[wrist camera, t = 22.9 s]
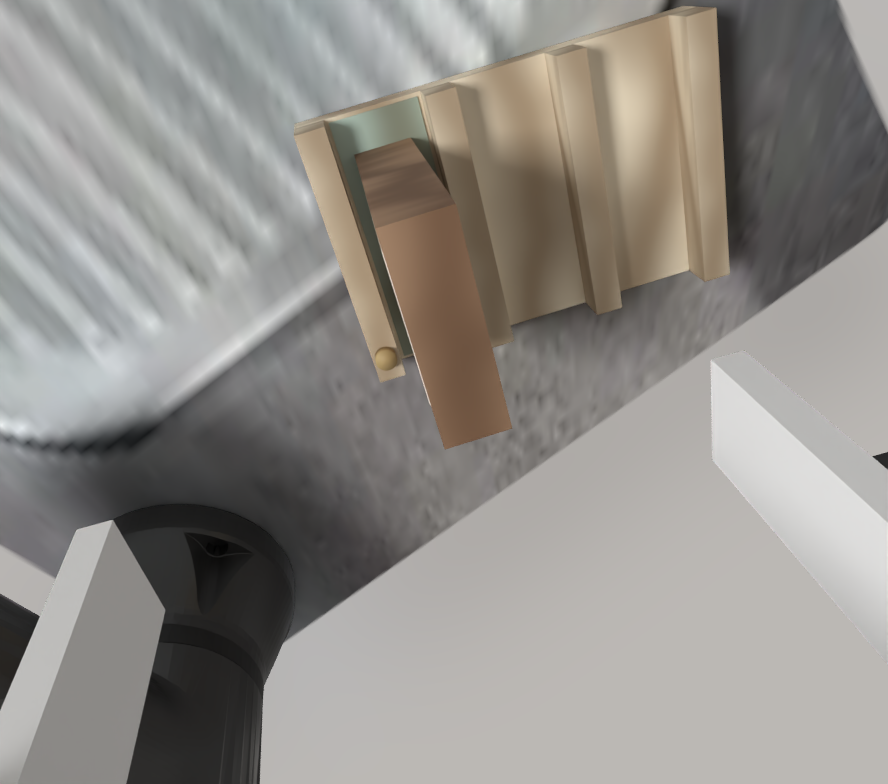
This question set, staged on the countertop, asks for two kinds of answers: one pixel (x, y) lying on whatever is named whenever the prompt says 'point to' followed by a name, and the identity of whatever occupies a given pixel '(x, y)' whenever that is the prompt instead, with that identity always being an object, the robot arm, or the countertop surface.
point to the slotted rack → (546, 174)
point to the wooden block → (435, 291)
